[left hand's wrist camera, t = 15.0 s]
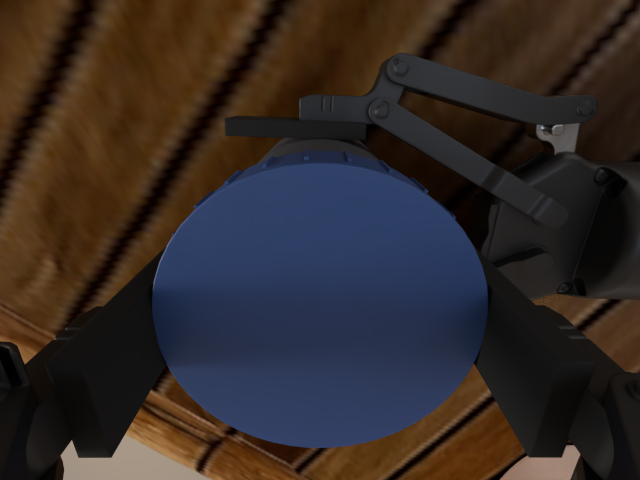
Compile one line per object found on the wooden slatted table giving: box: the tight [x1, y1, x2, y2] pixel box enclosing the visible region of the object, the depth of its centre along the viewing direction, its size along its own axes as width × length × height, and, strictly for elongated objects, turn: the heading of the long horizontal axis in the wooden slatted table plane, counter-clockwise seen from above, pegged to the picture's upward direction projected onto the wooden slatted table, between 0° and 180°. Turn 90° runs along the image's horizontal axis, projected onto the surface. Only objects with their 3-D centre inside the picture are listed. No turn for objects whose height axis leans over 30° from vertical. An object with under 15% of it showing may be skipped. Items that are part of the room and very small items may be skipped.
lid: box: [152, 149, 489, 448], centre depth 11 cm, size 10×10×2 cm
